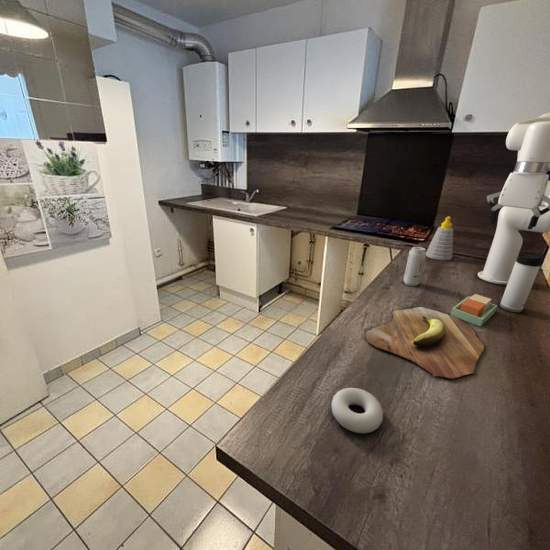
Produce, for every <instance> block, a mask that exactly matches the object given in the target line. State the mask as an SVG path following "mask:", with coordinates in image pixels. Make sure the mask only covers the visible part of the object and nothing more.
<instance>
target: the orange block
mask: <svg viewBox="0 0 550 550" xmlns="http://www.w3.org/2000/svg"><path fill="white" fill-rule="evenodd" d="M484 307H485V305H484V304H481V303H478V302H475V301H472V300H469V299H468V300H466V301H465V302H464V303H462V305H461V308H460V311H463V312H466V313H469V314H471V315H474V316H477V317H480V316H482V313H483V310H484Z"/></svg>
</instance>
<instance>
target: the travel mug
mask: <svg viewBox="0 0 550 550" xmlns="http://www.w3.org/2000/svg"><path fill="white" fill-rule="evenodd" d="M544 258H545V254H543V253H536V252H519V254H518V257H517V260H516V262H515V265H514V267H513V270H512V273H511V276H510V278H509V281H508V284H507V285H506V287H505V290H504V293H503V295H502V298H501V301H500V302H499V306H500V308H501V309H503V310H505V311H508V312H511V313H522V311H523V310H524V307H525V305H526V302H527V300H528V297H529V295H530V293H531V290H532V287H533V285H534V284H535V283H534V282H535V280H536V278H537V275H538V273H539V270H540V267H541V265H542V262H543V260H544Z"/></svg>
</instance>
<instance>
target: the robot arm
mask: <svg viewBox="0 0 550 550" xmlns="http://www.w3.org/2000/svg"><path fill="white" fill-rule="evenodd" d="M505 145H506V146H505V147H506V148H507V149H508V150H510V151H517V160H516V163H515V165H514V168H513V171H512V172H510V173H509V175H508V177H507V179H506V180H505V182H504V185H503V187H502V190H501V191H498V192H495V193H492V194H488V195H487V196H486V200H487V205H488V206H489V207H490V209H491V215H490V218H489V220H490V224H496V223H497V224H496V228H495V229H496V230H495V233H494V236H493V239H492V242H491V245H490V248H489V251H488V255H487V257H486V261H485V264H484V267H483V270H481V271H478V273H477V277H478V278H479V279H481V280H483V281H485V282H489V283H492V284H496V285H506V286H507V284H508V281H509V278H510V276H511V273H512V270H513V267H514V265H515V262H516V260H517V257H518V254H520V252H521V249H522V246H523V242H524V239H523V237H522V235H521V233H520V232H519V231H527V232H534V233H543V234H544V233H545V234H546V233H549V232H550V180H549V178H550V175H549V174H547V172H549V171H550V111H549V112H546V113H544V114H540V116H538V117H534V118H531V119H525V120H521V121H517V122H515V123H514V124H513V125H512V127H511V128H510V129H509V131H508V133H507V136H506V139H505ZM494 198H498V201H497V204H496V203H495V201H494Z"/></svg>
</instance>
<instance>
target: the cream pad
mask: <svg viewBox="0 0 550 550" xmlns="http://www.w3.org/2000/svg"><path fill="white" fill-rule="evenodd" d="M469 300H472V301H475V302H478V303H481V304H484V305H485V307H484V310H483V313H482V314H484V313H485V312H486V311H487V310H488V308H489V306H490V303H491V304H492V298H489V297H487V296H484V295H480V294H477V293H474V294H473V295H472V296H470V298H469Z"/></svg>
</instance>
